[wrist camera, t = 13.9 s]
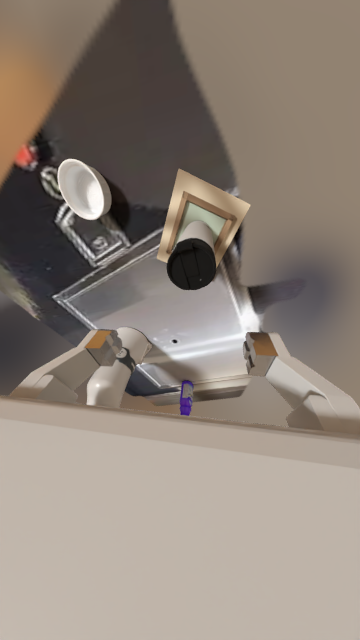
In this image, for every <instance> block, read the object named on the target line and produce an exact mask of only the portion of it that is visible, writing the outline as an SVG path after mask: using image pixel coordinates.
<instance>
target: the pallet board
mask: <svg viewBox="0 0 360 640" xmlns="http://www.w3.org/2000/svg"><path fill="white" fill-rule="evenodd" d="M250 206H251V205H250V204H248V203H246V202H244V201H242V200H240V199H238V198H236V197H234V196H232V195H230V194H228V193H226V192H224V191H222V190H221V189H219V188H217V187H215V186H213V185H211V184H209V183H207V182H205V181H203V180H201V179H199V178H197V177H195V176H193V175H191V174H189V173H187V172H185V171H183V170H181V169H179V170H178V174H177V178H176V182H175V186H174V190H173V194H172V198H171V202H170V206H169V210H168V214H167V218H166V223H165V227H164V231H163V235H162V239H161V243H160V247H159V251H158V255H157V259H159V260H161V261H164V262H166V263H167V262H168V259H169V257H170V255H171V253H172V251H173V249H174V247H175V246H176V244H177V242H178V240H179V239H180V237H181V235H182V234H183V232H184V230H185V229H186V227H187V226H188V225H189V224H190V223H191V222H193V221H196V220H200V221H203V222H205V223H206V224H208V226H209V227H210V229H211V233H212V239H213V245H214V251H215V258H216V268H217V266H218V264H219V263H220V261H221V259H222V257H223V255H224V253H225V252H226V250H227V248H228V246H229V244H230V243H231V241H232V239H233V237H234V235H235V233H236V232H237V230H238V228H239V226H240V224H241V222H242V221H243V219H244V217H245V215H246V213H247V211H248V210H249V208H250Z"/></svg>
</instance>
